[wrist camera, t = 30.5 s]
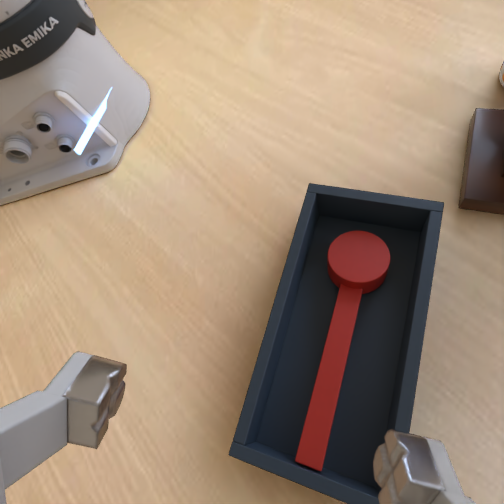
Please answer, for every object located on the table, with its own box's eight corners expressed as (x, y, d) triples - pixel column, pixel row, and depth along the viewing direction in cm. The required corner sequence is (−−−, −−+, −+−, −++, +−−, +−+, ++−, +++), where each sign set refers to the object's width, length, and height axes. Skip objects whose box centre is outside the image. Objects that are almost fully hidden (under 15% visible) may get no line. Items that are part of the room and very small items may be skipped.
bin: (386, 505, 23) (395, 523, 19) (244, 449, 26) (228, 455, 22) (431, 228, 29) (444, 202, 25) (312, 209, 32) (309, 182, 28)
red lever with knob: (345, 481, 21) (346, 482, 20) (273, 453, 23) (269, 451, 21) (391, 250, 28) (395, 236, 27) (334, 239, 30) (335, 225, 28)
